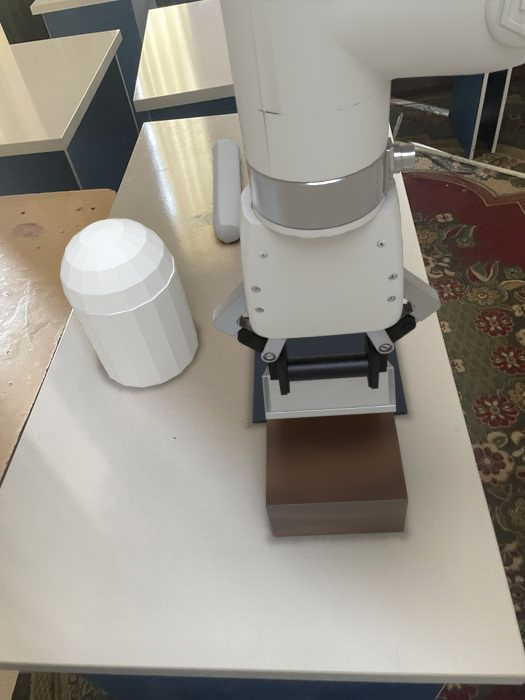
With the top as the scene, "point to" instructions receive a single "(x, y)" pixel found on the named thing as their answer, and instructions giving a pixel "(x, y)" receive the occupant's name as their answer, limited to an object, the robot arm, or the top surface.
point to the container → (129, 301)
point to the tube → (226, 190)
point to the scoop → (329, 388)
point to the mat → (319, 348)
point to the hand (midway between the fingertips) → (327, 376)
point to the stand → (335, 475)
